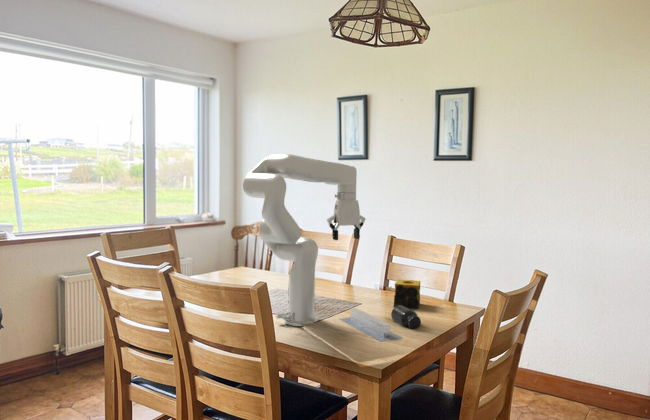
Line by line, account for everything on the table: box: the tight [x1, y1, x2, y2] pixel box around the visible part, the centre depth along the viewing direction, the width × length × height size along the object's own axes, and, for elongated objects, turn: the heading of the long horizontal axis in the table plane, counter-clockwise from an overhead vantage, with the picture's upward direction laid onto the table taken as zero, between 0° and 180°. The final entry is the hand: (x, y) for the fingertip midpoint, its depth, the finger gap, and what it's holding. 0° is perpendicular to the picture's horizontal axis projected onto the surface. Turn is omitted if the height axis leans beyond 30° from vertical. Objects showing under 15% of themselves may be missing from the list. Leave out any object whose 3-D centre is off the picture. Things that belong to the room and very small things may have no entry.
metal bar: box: [350, 308, 391, 337], centre depth 183 cm, size 2×22×4 cm, turn 27°
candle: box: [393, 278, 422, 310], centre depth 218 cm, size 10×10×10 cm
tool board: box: [339, 316, 404, 343], centre depth 183 cm, size 9×28×1 cm, turn 27°
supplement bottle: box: [390, 305, 422, 330], centre depth 188 cm, size 7×7×12 cm
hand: (346, 239), depth 211 cm, fingers open, 9 cm apart
